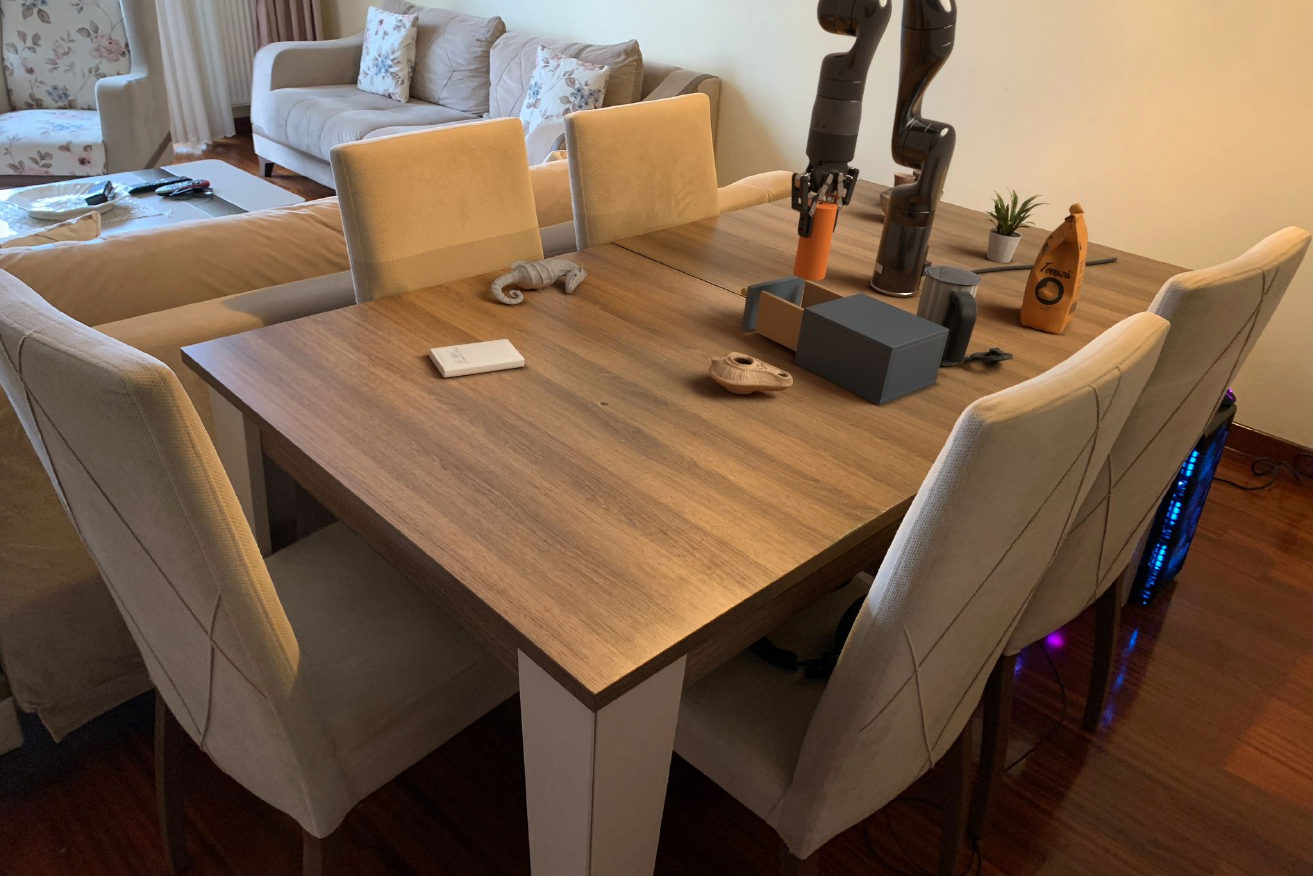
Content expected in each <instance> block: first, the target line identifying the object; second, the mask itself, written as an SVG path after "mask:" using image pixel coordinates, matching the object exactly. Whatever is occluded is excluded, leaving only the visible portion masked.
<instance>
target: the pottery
mask: <svg viewBox="0 0 1313 876" xmlns="http://www.w3.org/2000/svg"><path fill="white" fill-rule="evenodd" d="M920 174H921V171H919V170H915V169H912V174H910V173H906V172H895V173H894V174H893V175H894V176H893V178H894V179H893V180H894V181H893V182H894V183H893V187H890V188H888V189H886V190H883V191H882V192H880V194H879V205H880V208H881V211H882V212H883V214H884V216H885V215H886V210H887V205H888V201H889V196H890V192H891V190H892V188H894V187H896V186H899V185H906V184H913V183H916V182H917V181H918V179H919V176H920ZM944 194H945V193H944V190H943V191H942V194H941V196H940V198H939V201H938V203H939V202H940V201H941V199H942V198H943V195H944ZM884 220H885V217H884V218H883V221H884Z"/></svg>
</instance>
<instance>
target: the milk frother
mask: <svg viewBox="0 0 1313 876" xmlns="http://www.w3.org/2000/svg"><path fill="white" fill-rule="evenodd" d="M971 271H972V270H968V269H965V268H961V267H960V268H959V267H957V266H956V267H955V266H949V265H931V266H930V267H927V268H926V269H925V273H926V275H925V276H924V279H923V283H922V288H921V293H920V296H919V301H918V305H917V311H916V314H915V315H916V316H919V317H921V318H924V319H926V320H928V321H931V322H933V323H936V324H938V325H940V326H943V327H945V328H948V329H949V332H948V336H947V340H946V344H945V348H944V352H943V355H942V359H941V363H940V366H941V367H952V366H956V365H958V364H960V363H962V362H989V363H990V364H997V363H1000V362H1004V361H1011V360H1013V359H1014V354H1013V353H1010V352H1005V351H1003V350H1001V349H1000V347H990V348H989V349H988V350H987V351H980V352H979V351H978V352H973V353H971V354H969V356H966V354H967V350H968V347H969V344H970V341H971V338H972V335H973V332H974V328H975V326H976V322H977V317H978V304H977V301H976V295H977V292H978V287H979V284H980V283H982V280H983V279H982V278H981V276H980V275H979V274H978V273H976V274H975V273H973V272H971Z"/></svg>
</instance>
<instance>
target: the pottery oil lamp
mask: <svg viewBox="0 0 1313 876" xmlns="http://www.w3.org/2000/svg"><path fill="white" fill-rule="evenodd" d="M710 361H711V364H710V365H709V367H708V373H709V375H710V376H711V377H710V378H712V379H713V380H714V381H715V382H717V383H718V384H719V385H720V386H721V387H724V388H725V389H726V391H728V392H730V393H733V394H737V395H748V394H749V395H750V394H753V392H783V391H786V390H787V389H789V388H790V387H792V386H793V384H794V380H793V376H792V375H791V374H790V373H789V372H788V371H785V370H783V369H781V368H778V367H776V366H773V365H772V364H769V363H766V362H764V361H762V360H760V359H758V358H756V357H752V356H750V355H748V354H744V353H741V352H736V351H731V352H730V353H727V354H724V355H718V356H712V357H711V360H710Z"/></svg>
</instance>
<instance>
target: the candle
mask: <svg viewBox="0 0 1313 876" xmlns="http://www.w3.org/2000/svg"><path fill="white" fill-rule="evenodd" d="M811 202H812V200H811V199H810V200H809V202H808V207H810V204H811ZM836 211H837V205H836V204H835V203H832V202H829V201H826V199H823V200H822V202H820V203H818V206H817V208H816V210H815V213H814V215H813V216H814V220H813V226H812V232H811V237H810V238H804V237H801V236H799V235H798V242H797V249H796V255H795V262H794V268H793V276H794V275H795V276H797V277H799V278H801V279H805V281H807V280H809V281H822V280H824V279H825V277H826V273H827V272H826V271H827V268H828V267H827V266H828V261H829V256H830V250H831V245H832V244H831V243H832V239H833V234H834V233H833V228H834V222H835V217H836Z"/></svg>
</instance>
